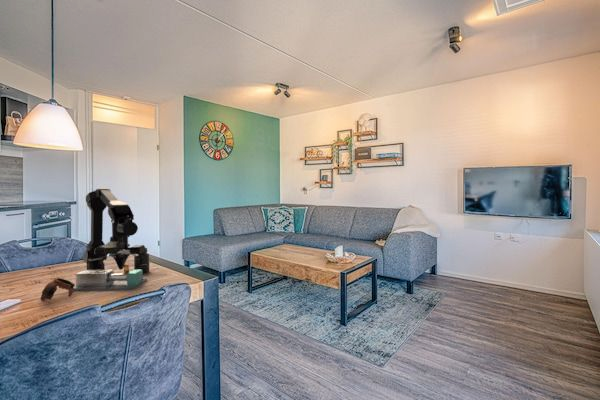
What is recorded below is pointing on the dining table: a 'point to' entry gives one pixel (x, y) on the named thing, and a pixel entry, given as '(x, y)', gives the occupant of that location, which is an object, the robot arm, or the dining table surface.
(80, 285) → the tube rig
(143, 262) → the supplement bottle
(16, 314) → the dining table surface
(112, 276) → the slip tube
